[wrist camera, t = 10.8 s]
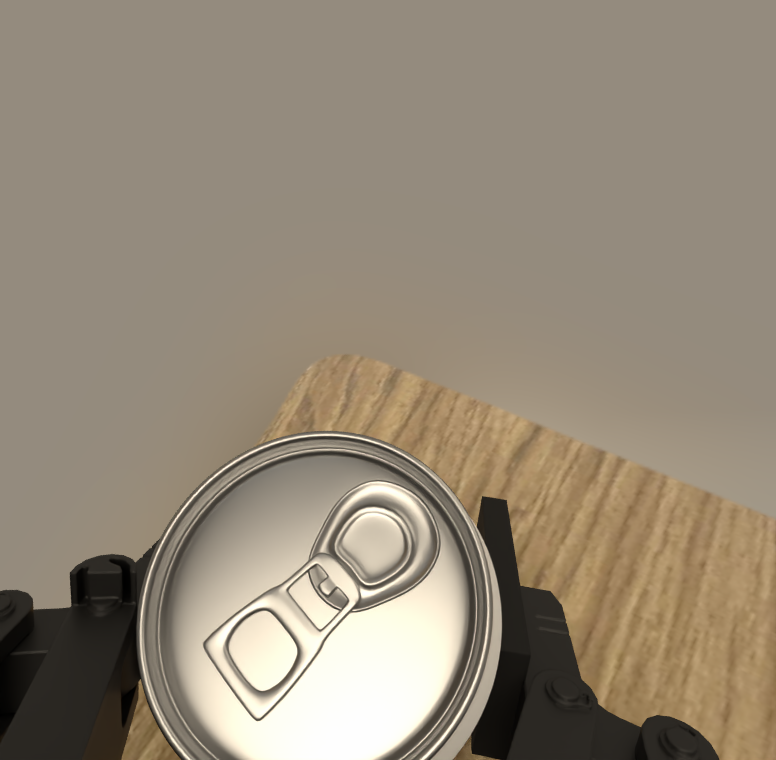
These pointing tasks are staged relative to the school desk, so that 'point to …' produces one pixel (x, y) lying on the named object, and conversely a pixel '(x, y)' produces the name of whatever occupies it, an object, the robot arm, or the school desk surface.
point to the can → (319, 609)
